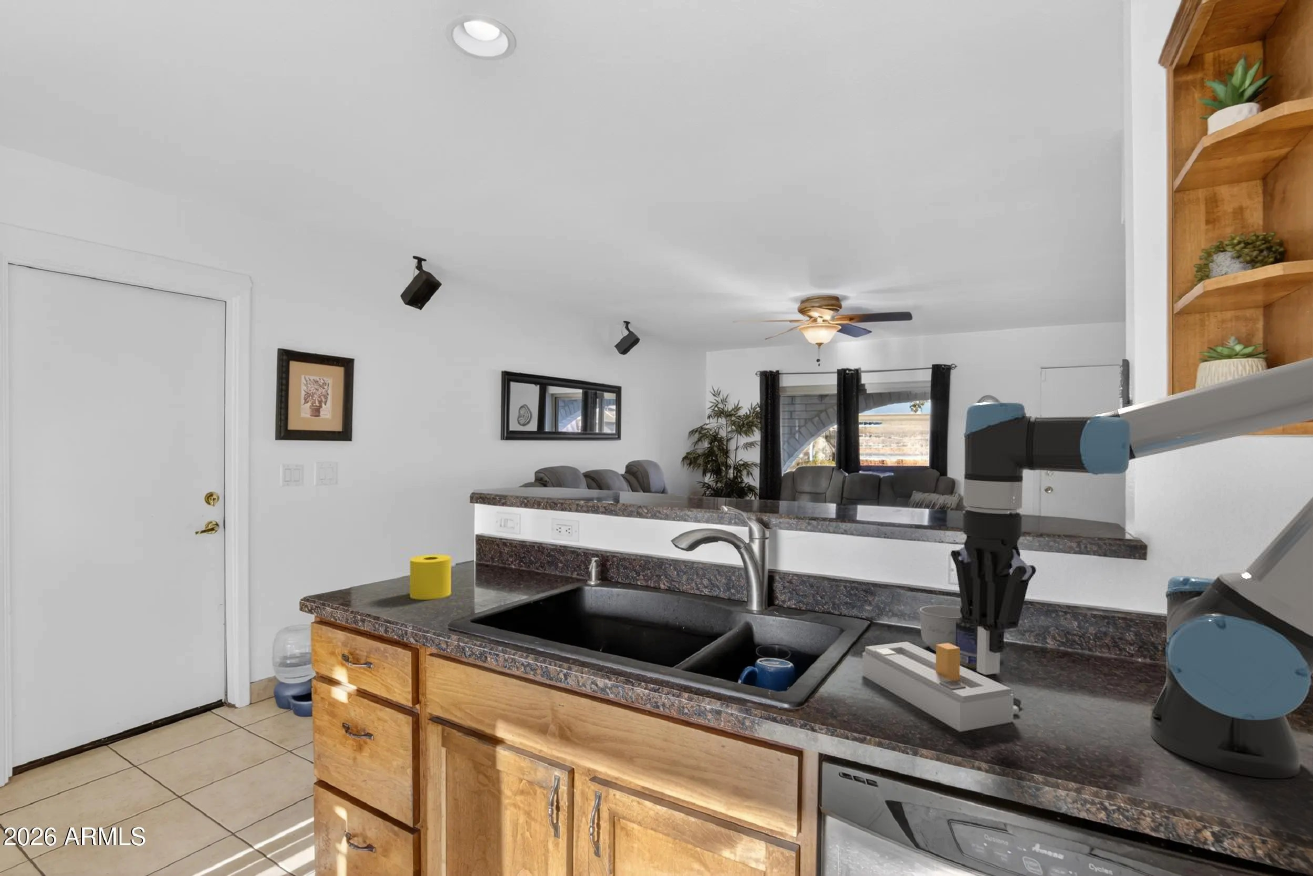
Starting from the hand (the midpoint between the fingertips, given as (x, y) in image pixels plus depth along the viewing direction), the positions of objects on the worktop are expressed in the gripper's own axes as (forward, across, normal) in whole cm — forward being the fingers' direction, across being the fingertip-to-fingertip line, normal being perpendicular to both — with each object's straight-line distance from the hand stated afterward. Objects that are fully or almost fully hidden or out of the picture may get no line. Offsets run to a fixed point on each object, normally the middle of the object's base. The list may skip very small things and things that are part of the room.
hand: (988, 671), depth 91 cm
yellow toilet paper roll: (+10, +103, +78) cm, 130 cm away
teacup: (+9, +27, -21) cm, 35 cm away
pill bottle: (+9, +19, -17) cm, 27 cm away
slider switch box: (+8, +11, 0) cm, 14 cm away
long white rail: (+8, +11, -7) cm, 15 cm away
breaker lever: (+4, +8, 0) cm, 9 cm away
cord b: (+8, +12, -9) cm, 17 cm away
